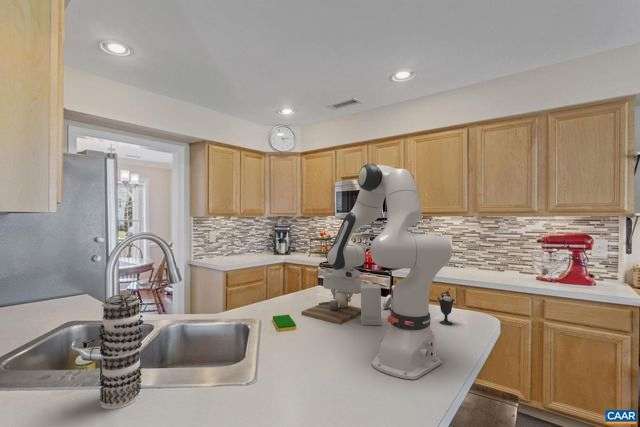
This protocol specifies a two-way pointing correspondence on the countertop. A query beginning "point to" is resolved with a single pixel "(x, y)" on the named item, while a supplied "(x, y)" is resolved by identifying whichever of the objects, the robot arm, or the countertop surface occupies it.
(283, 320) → the dish sponge
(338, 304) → the lever
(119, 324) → the decorative candle
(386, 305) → the spread jar
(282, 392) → the countertop surface
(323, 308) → the wooden cutting board
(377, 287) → the skincare box
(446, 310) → the sundae
